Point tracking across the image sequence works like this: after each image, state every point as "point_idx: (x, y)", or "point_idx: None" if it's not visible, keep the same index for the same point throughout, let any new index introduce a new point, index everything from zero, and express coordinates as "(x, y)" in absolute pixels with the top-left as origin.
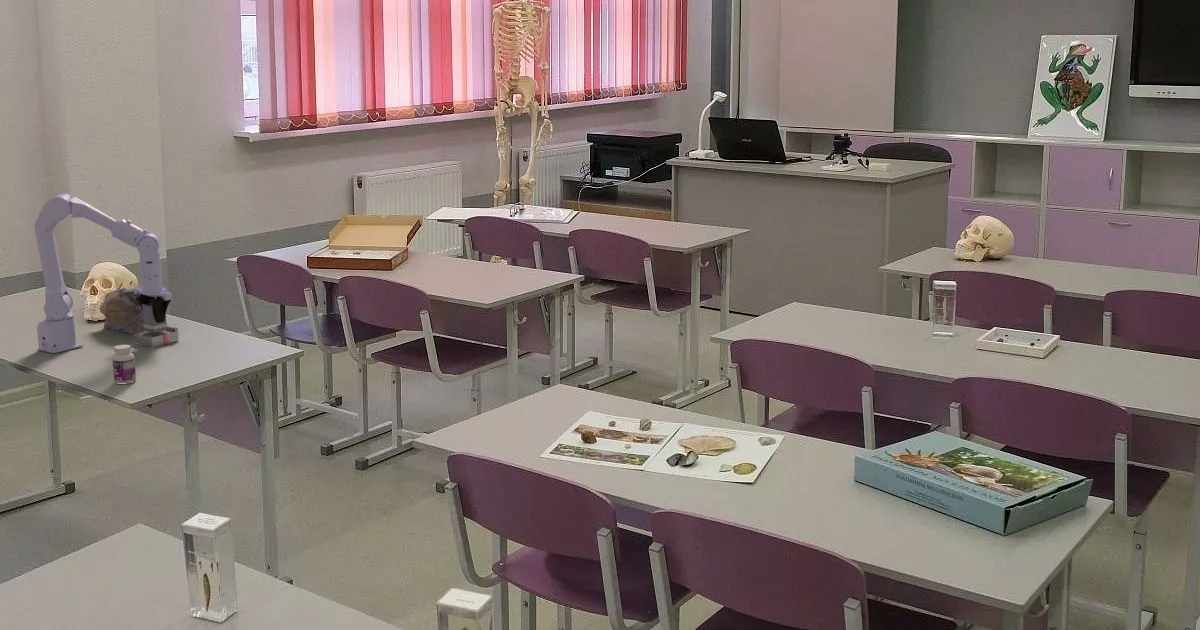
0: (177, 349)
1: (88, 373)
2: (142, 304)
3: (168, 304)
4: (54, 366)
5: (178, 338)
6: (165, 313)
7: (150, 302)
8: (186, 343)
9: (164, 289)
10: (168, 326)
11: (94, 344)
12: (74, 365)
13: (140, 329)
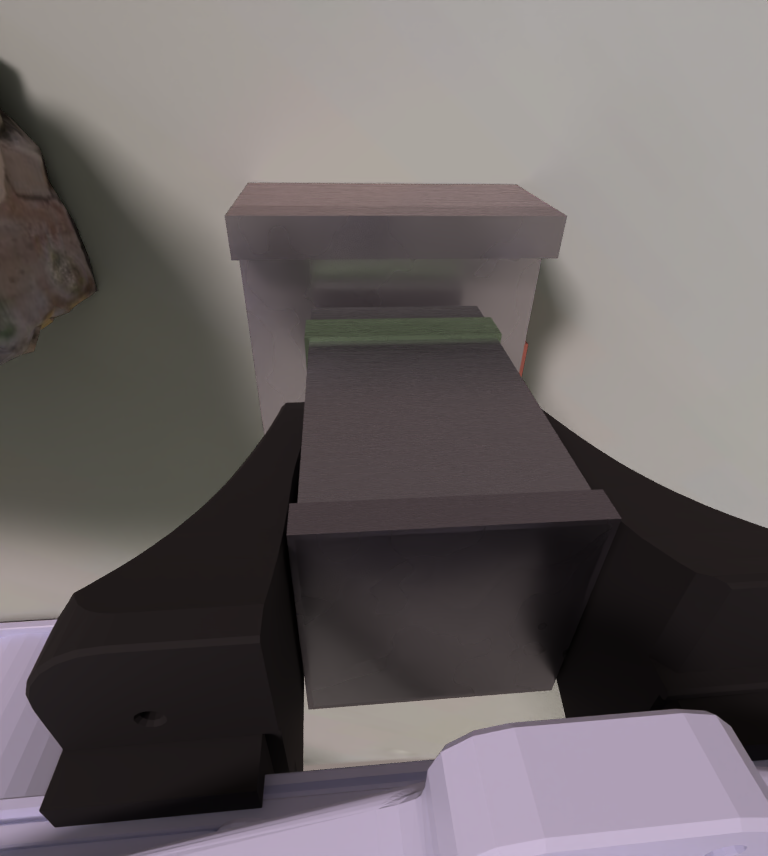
0: (672, 358)
1: (539, 719)
2: (324, 699)
3: (726, 519)
4: (350, 743)
5: (525, 191)
6: (584, 445)
7: (338, 627)
8: (636, 198)
9: (740, 814)
10: (418, 237)
11: (94, 565)
12: (402, 714)
13: (57, 315)
